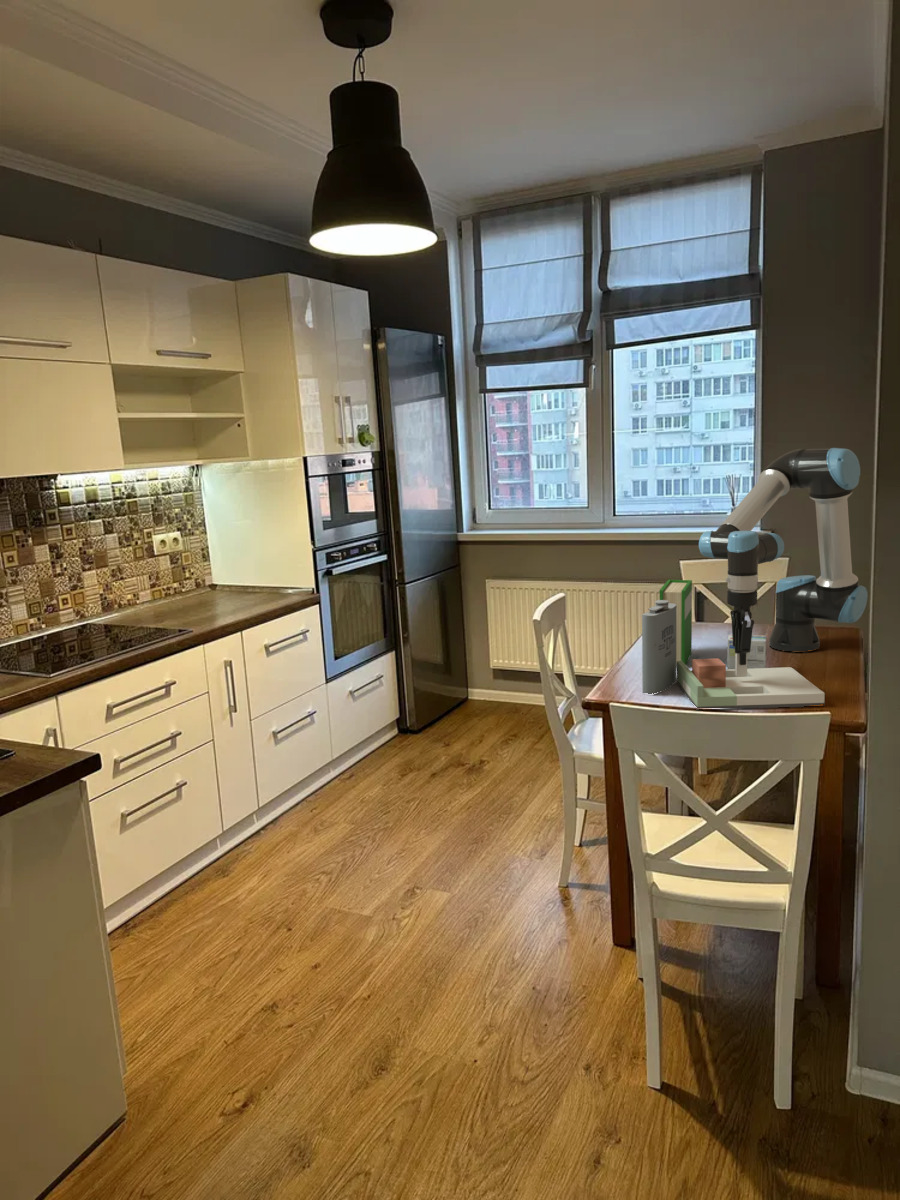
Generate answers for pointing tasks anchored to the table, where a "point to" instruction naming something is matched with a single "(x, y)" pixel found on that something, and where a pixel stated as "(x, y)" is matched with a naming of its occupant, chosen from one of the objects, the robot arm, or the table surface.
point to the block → (709, 672)
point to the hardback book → (681, 615)
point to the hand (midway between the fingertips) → (741, 675)
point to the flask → (659, 647)
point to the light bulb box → (750, 653)
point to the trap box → (752, 689)
